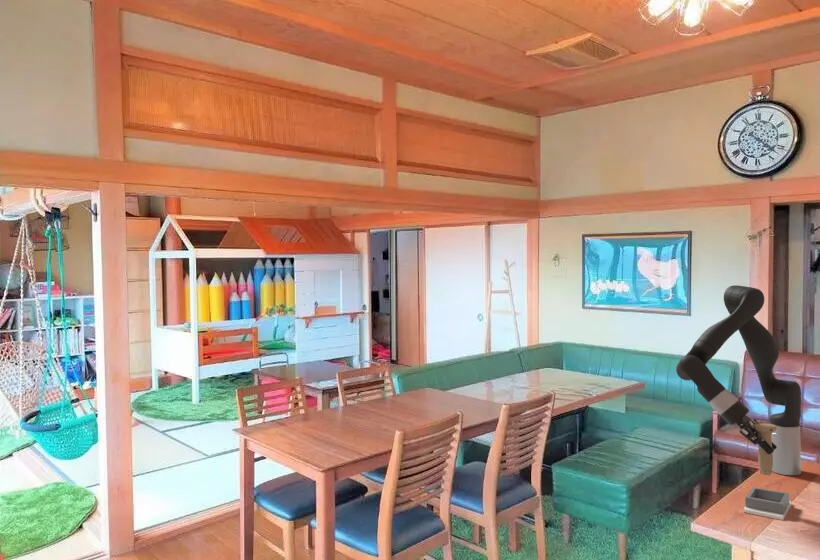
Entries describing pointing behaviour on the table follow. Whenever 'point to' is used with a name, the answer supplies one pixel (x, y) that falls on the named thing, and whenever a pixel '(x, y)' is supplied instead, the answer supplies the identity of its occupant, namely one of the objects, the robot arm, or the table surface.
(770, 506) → the holder
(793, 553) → the table surface
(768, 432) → the handle
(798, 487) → the table surface
